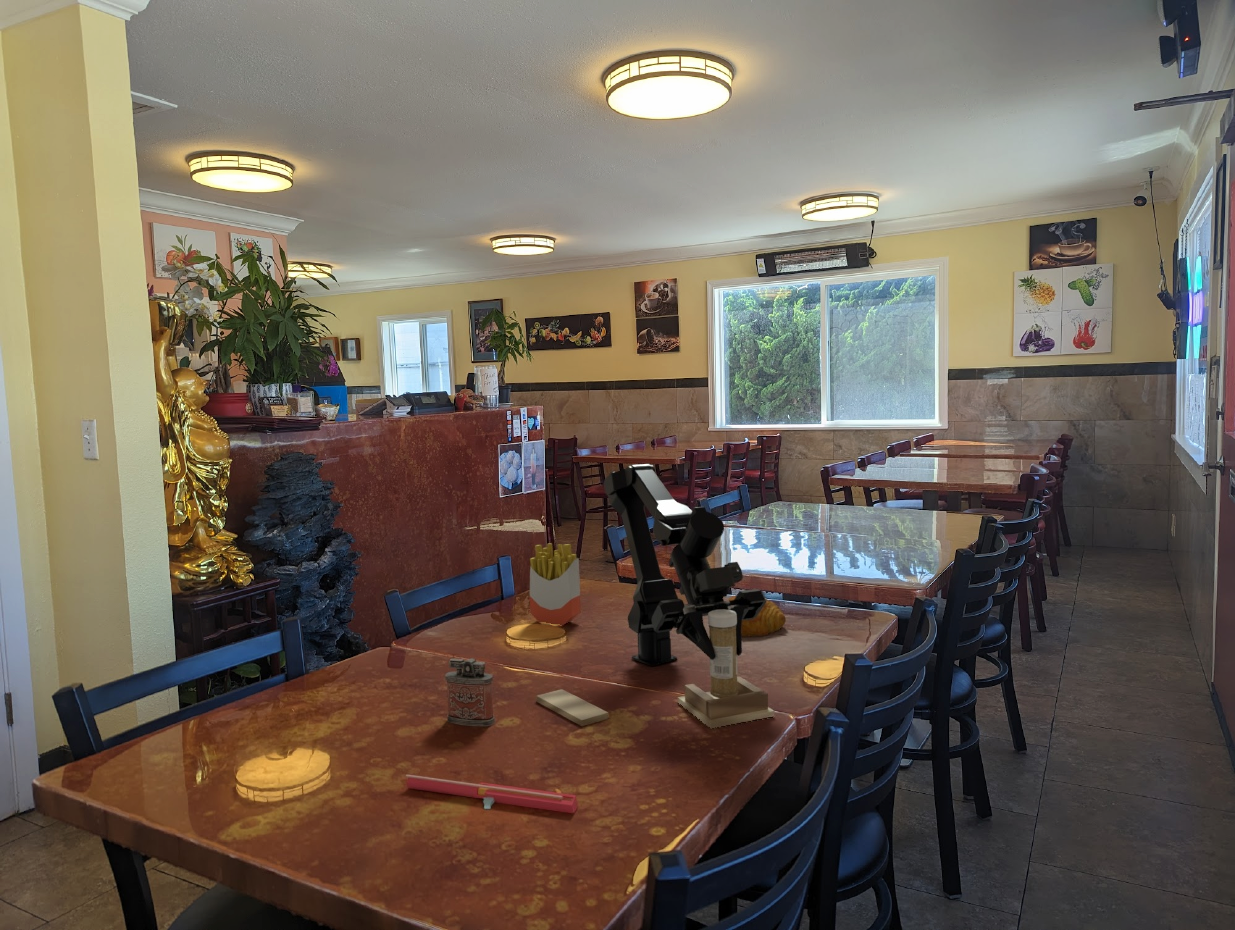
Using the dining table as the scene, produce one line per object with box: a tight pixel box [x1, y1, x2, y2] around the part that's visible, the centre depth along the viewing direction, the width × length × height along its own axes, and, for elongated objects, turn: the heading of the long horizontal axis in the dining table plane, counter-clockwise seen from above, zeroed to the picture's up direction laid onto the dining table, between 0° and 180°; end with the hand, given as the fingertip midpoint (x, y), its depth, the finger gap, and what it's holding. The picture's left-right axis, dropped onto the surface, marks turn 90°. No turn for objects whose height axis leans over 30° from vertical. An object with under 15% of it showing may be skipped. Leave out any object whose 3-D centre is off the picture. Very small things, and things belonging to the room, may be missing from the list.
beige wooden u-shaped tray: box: [677, 675, 775, 730], centre depth 134 cm, size 12×11×4 cm
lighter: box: [444, 657, 496, 727], centre depth 132 cm, size 8×3×10 cm, turn 71°
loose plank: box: [536, 688, 609, 727], centre depth 136 cm, size 14×5×2 cm, turn 35°
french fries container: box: [529, 542, 582, 626], centre depth 189 cm, size 5×11×18 cm, turn 64°
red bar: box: [405, 774, 579, 814], centre depth 106 cm, size 24×2×5 cm
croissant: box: [726, 594, 787, 637], centre depth 180 cm, size 14×16×8 cm
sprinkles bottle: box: [707, 609, 738, 698], centre depth 133 cm, size 5×5×14 cm
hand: (726, 656), depth 132 cm, fingers closed on sprinkles bottle, 4 cm apart
